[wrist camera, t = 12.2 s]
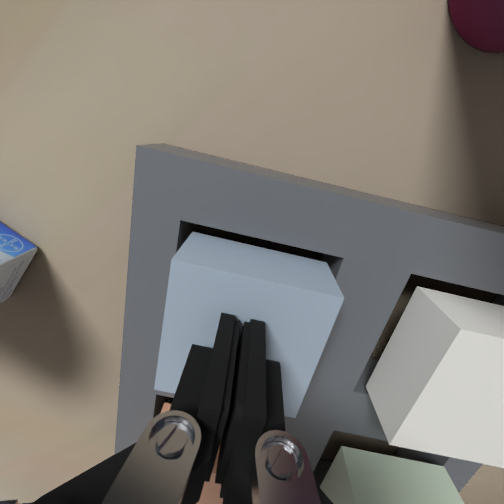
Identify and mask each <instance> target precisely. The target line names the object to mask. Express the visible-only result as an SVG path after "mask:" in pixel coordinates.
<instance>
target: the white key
mask: <svg viewBox="0 0 504 504" xmlns="http://www.w3.org/2000/svg"><path fill="white" fill-rule="evenodd" d="M366 388H367V391H368V393H369V396H370V398H371V401H372V403H373V406H374V408H375V411H376V413H377V416H378V418H379V421H380V423H381V426H382V428H383V430H384V433H385V435H386V438H387V440H388V443H389V445H393V446H398V447H403V448H408V449H412V450H417V451H422V452H427V453H432V454H437V455H442V456H447V457H452V458H457V459H462V460H467V461H472V462H477V463H482V464H487V465H492V466H497V467H502V468H504V306H501V305H497V304H493V303H488V302H484V301H480V300H475V299H471V298H466V297H462V296H458V295H453V294H449V293H445V292H440V291H436V290H432V289H427V288H423V287H419V286H417V287H416V289H415V291H414V293H413V295H412V297H411V299H410V301H409V303H408V305H407V307H406V309H405V311H404V313H403V314H402V316H401V318H400V320H399V322H398V324H397V326H396V328H395V330H394V332H393V334H392V336H391V338H390V340H389V342H388V344H387V346H386V348H385V350H384V352H383V354H382V355H381V357H380V359H379V361H378V363H377V365H376V367H375V369H374V371H373V373H372V375H371V377H370V379H369V381H368V383H367V385H366Z"/></svg>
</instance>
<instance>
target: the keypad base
mask: <svg viewBox="0 0 504 504" xmlns="http://www.w3.org/2000/svg"><path fill="white" fill-rule="evenodd" d="M194 223H195V224H199V225H203V226H207V227H212V228H216V229H220V230H225V231H229V232H233V233H238V234H242V235H246V236H251V237H255V238H259V239H264V240H268V241H272V242H277V243H281V244H285V245H290V246H294V247H298V248H302V249H307V250H311V251H315V252H320V253H323V254H322V257H321V260H320V261H323V262H327V264H328V266H329V268H330V270H331V272H332V274H333V276H334V278H335V280H336V282H337V284H338V286H339V288H340V290H341V292H342V294H343V296H344V300H343V303H342V305H341V308H340V310H339V313H338V315H337V318H336V320H335V322H334V325H333V327H332V330H331V332H330V335H329V337H328V340H327V342H326V344H325V347H324V349H323V352H322V354H321V357H320V359H319V362H318V364H317V366H316V369H315V371H314V374H313V376H312V379H311V381H310V384H309V386H308V388H307V391H306V393H305V396H304V398H303V401H302V403H301V406H300V408H299V410H298V413H297V415H296V418H292V417H287V416H284V417H285V430H286V432H287V433H289V434H291V435H293V436H294V437H295V438H296V439H297V440H298V441H300V443H301V444H302V446H303V447H304V448H305V450H306V453H307V455H308V457H309V461H310V464H311V468H312V472H313V475H314V479H315V483H316V484H317V485H318V486H319V488H320V486H321V484H322V482H323V480H324V478H325V476H326V474H327V472H328V470H329V468H330V467H331V465H332V462H327V461H322V460H319V459H320V457H321V455H322V453H323V451H324V449H325V447H326V445H327V443H328V441H329V439H330V437H331V435H332V433H333V431H339V432H344V433H349V434H354V435H359V436H364V437H369V438H374V439H379V440H384V441H388V440H387V438H386V435H385V433H384V430H383V428H382V426H381V423H380V421H379V418H378V416H377V413H376V411H375V408H374V406H373V403H372V401H371V398H370V396H369V393H368V391H367V388H366V385H367V383H368V381H369V379H370V377H371V375H372V373H373V371H374V369H375V367H376V365H377V363H378V361H379V360H377V359H372V358H370V356H371V354H372V352H373V350H374V348H375V346H376V344H377V342H378V340H379V338H380V336H381V334H382V332H383V330H384V328H385V326H386V324H387V322H388V320H389V318H390V315H391V313H392V311H393V309H394V307H395V305H396V303H397V301H398V299H399V297H400V295H401V293H402V291H403V289H404V287H405V285H406V283H407V281H408V279H409V277H410V275H411V274H415V275H419V276H423V277H428V278H432V279H436V280H441V281H445V282H449V283H454V284H458V285H462V286H467V287H471V288H475V289H480V290H484V291H488V292H492V293H497V294H498V295H497V296H496V298H495V299H494V301H493V302H492V303H493V304H497V305H501V306H504V226H499V225H495V224H491V223H487V222H483V221H479V220H475V219H471V218H467V217H462V216H458V215H454V214H450V213H446V212H442V211H438V210H434V209H430V208H425V207H421V206H417V205H413V204H409V203H405V202H401V201H397V200H393V199H388V198H384V197H380V196H376V195H372V194H368V193H364V192H360V191H356V190H351V189H347V188H343V187H339V186H335V185H331V184H327V183H323V182H319V181H314V180H310V179H306V178H302V177H298V176H294V175H290V174H286V173H282V172H277V171H273V170H269V169H265V168H261V167H257V166H253V165H249V164H245V163H241V162H236V161H232V160H228V159H224V158H220V157H216V156H212V155H208V154H204V153H199V152H195V151H191V150H187V149H183V148H179V147H175V146H171V145H167V144H149V145H137V146H136V160H135V174H134V188H133V202H132V216H131V231H130V245H129V259H128V273H127V287H126V301H125V315H124V329H123V343H122V357H121V372H120V386H119V400H118V414H117V428H116V442H115V454H117V453H118V452H120V451H122V450H124V449H125V448H127V447H129V446H131V445H132V444H134V443H136V442H137V441H138V439H139V438H140V436H141V434H142V432H143V431H144V429H145V427H146V426H147V425H148V423H149V422H150V421H151V420H152V419H153V418H154V417H156V416H157V415H158V414H160V413H161V410H162V408H163V405H164V403H165V401H166V397H171V398H174V395H175V394H174V393H169V392H164V391H159V390H154V386H155V379H156V371H157V364H158V356H159V349H160V341H161V334H162V326H163V319H164V311H165V304H166V296H167V289H168V281H169V274H170V266H171V259H172V258H173V257H174V255H175V254H176V253H177V251H178V250H179V249H180V247H181V246H182V245H183V243H184V242H185V241H186V240H187V238H188V237H189V236H190V234H191V233H192V230H193V224H194ZM394 457H399V458H404V459H409V460H414V461H419V462H424V463H429V464H434V465H439V466H444V467H445V469H446V471H447V473H448V474H449V476H450V478H451V480H452V482H453V484H454V485H455V487H456V489H457V491H458V493H459V492H460V490H461V489H462V488H463V487H464V486H465V484H466V483H467V482H468V481H469V480H470V478H471V477H472V476H473V475H474V474H475V472H476V471H477V470H478V469H479V468H480V467H481V465H482V463H477V462H472V461H467V460H462V459H457V458H452V457H447V456H442V455H437V454H432V453H427V452H422V451H417V450H412V449H408V448H403V447H399V449H398V450H397V452H396V453H395V455H394Z"/></svg>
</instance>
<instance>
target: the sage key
mask: <svg viewBox="0 0 504 504" xmlns="http://www.w3.org/2000/svg"><path fill="white" fill-rule="evenodd" d="M320 489H321V490H322V491H323V492H324V493H325V494H326V496H327V497H328V498H329V499H330V500H331V501H332V502H333V504H464V502H463V500H462V498H461V496H460V495H459V493H458V491H457V489H456V487H455V485H454V484H453V482H452V480H451V478H450V476H449V474H448V473H447V471H446V469H445V467H444V466H439V465H434V464H429V463H424V462H419V461H414V460H409V459H404V458H399V457H394V456H389V455H384V454H379V453H374V452H369V451H364V450H359V449H354V448H349V447H344V446H341V447H340V449H339V451H338V453H337V455H336V457H335V459H334V461H333V463H332V465H331V467H330V468H329V470H328V472H327V474H326V476H325V478H324V480H323V482H322V484H321V486H320Z"/></svg>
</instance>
